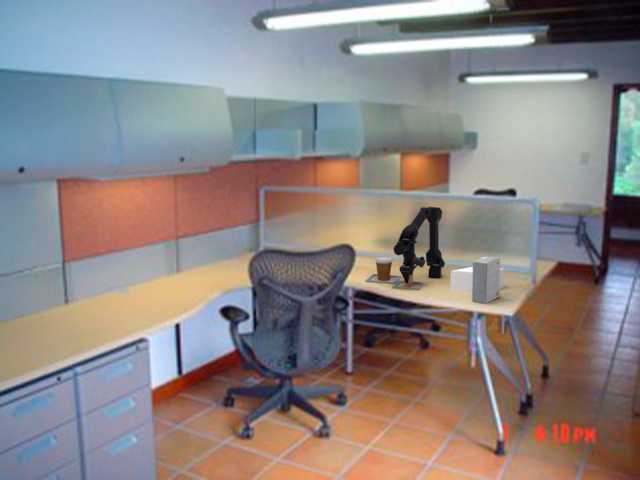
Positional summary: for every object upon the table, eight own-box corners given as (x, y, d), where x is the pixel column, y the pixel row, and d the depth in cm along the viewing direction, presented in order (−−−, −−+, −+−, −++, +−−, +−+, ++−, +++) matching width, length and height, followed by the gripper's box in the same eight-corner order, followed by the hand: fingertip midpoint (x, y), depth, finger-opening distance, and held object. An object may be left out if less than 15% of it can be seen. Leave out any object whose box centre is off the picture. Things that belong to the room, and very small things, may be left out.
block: (412, 285, 337) (413, 274, 336) (411, 287, 333) (411, 276, 332) (405, 284, 338) (405, 273, 337) (403, 286, 335) (403, 275, 334)
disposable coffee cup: (373, 281, 347) (373, 259, 345) (377, 277, 356) (377, 256, 354) (390, 282, 345) (390, 260, 342) (393, 278, 354) (394, 257, 351)
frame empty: (424, 283, 340) (424, 282, 340) (419, 290, 327) (419, 288, 327) (398, 281, 345) (398, 280, 345) (392, 288, 332) (392, 286, 331)
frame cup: (401, 277, 355) (401, 275, 355) (394, 284, 340) (394, 282, 340) (373, 275, 361) (373, 273, 361) (365, 281, 346) (365, 280, 345)
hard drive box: (485, 295, 316) (486, 255, 313) (499, 297, 312) (501, 257, 308) (471, 301, 305) (472, 261, 301) (485, 304, 300) (487, 263, 296)
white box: (509, 291, 324) (510, 271, 322) (455, 293, 320) (455, 274, 318) (498, 284, 338) (499, 265, 336) (445, 286, 334) (446, 267, 332)
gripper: (421, 256, 321) (420, 286, 324) (427, 250, 339) (427, 278, 341) (399, 255, 325) (399, 285, 328) (407, 248, 342) (406, 277, 345)
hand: (408, 281), depth 335 cm, fingers open, 9 cm apart
